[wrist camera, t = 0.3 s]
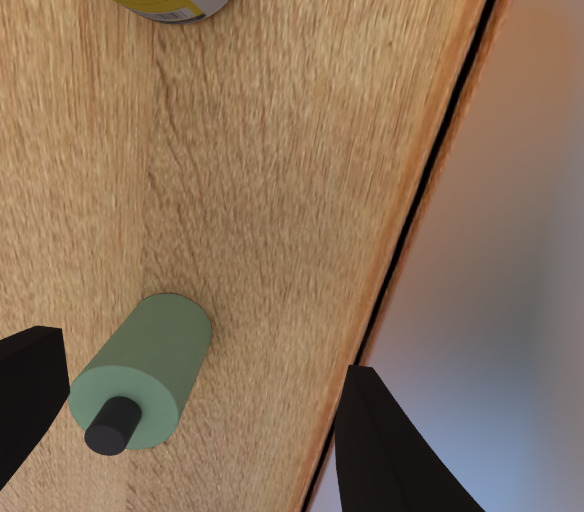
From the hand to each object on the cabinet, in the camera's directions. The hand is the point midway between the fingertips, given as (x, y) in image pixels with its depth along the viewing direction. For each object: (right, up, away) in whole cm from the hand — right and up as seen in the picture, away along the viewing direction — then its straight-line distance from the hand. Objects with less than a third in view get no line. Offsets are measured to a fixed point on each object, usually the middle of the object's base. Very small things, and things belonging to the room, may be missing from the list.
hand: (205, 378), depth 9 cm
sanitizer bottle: (-5, -1, +11) cm, 12 cm away
